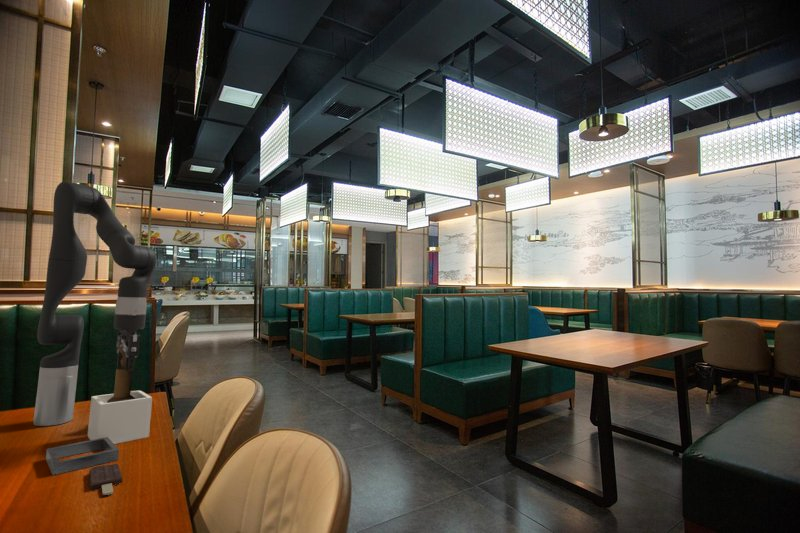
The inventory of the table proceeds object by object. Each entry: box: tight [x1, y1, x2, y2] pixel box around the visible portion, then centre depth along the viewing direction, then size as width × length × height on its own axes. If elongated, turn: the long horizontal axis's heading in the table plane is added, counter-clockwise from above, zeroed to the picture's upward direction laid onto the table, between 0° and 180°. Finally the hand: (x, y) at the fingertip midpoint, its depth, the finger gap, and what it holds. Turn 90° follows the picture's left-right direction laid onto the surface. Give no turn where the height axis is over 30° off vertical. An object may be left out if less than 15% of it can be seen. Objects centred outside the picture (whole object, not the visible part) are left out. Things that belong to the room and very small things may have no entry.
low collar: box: [45, 437, 120, 476], centre depth 94 cm, size 12×12×2 cm
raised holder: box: [87, 390, 153, 445], centre depth 110 cm, size 12×12×11 cm
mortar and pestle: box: [107, 346, 135, 403], centre depth 112 cm, size 7×6×18 cm
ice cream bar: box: [88, 463, 123, 496], centre depth 83 cm, size 5×2×15 cm
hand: (125, 368), depth 112 cm, fingers open, 8 cm apart
